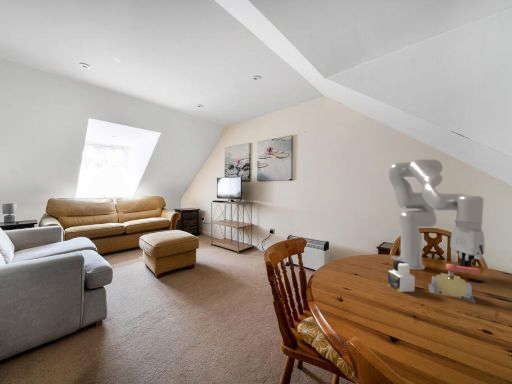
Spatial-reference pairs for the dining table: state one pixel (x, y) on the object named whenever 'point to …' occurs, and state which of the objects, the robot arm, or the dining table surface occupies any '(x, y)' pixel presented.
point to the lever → (462, 269)
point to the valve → (451, 285)
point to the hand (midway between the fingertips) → (465, 268)
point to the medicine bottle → (401, 277)
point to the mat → (450, 296)
